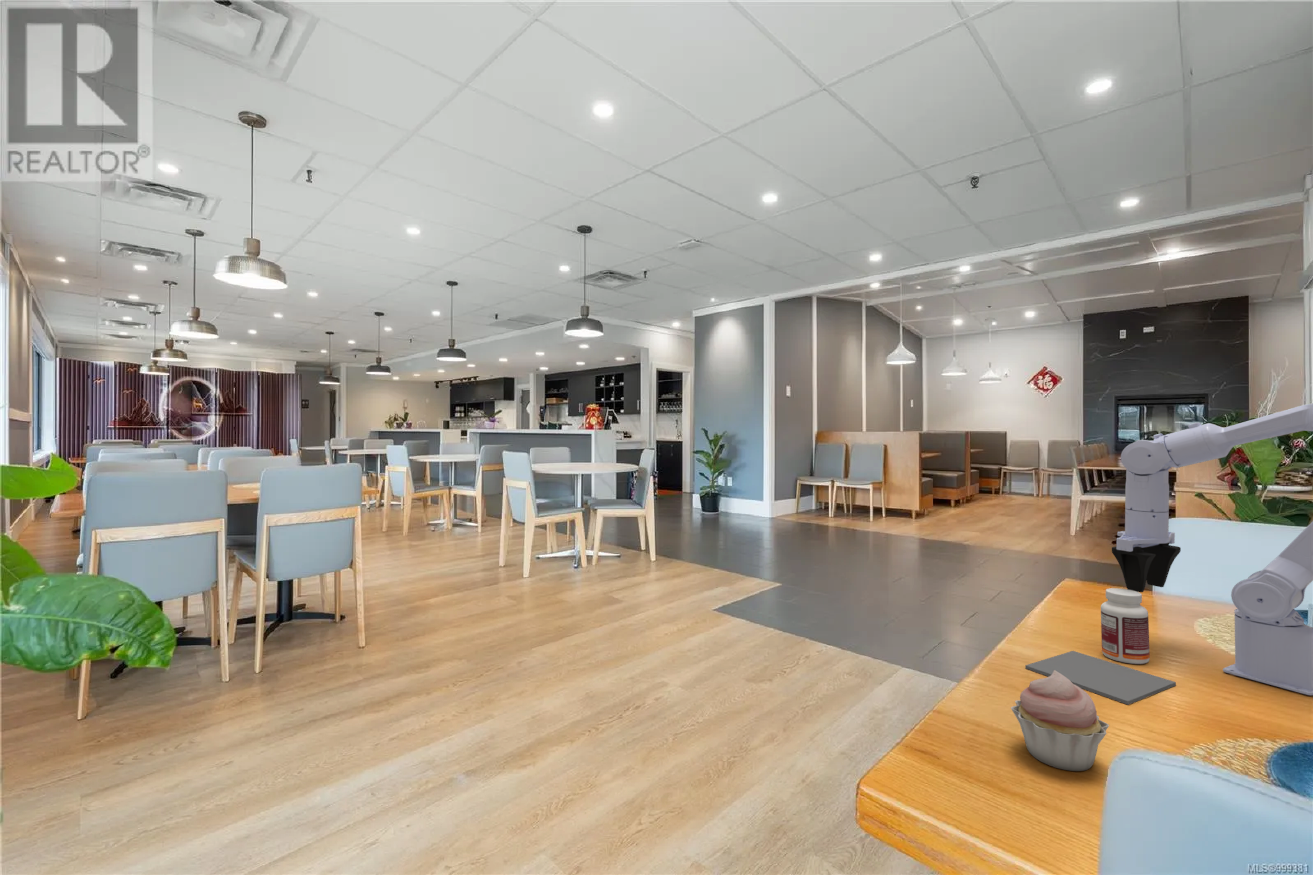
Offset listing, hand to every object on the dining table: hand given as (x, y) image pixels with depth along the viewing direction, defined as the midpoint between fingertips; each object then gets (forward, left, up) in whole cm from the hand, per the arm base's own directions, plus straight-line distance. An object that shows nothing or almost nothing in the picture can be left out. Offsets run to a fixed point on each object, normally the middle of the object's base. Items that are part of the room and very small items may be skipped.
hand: (1145, 588), depth 99 cm
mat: (-3, +20, -10) cm, 23 cm away
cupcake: (-13, +48, -11) cm, 51 cm away
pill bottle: (-1, +8, -11) cm, 13 cm away
